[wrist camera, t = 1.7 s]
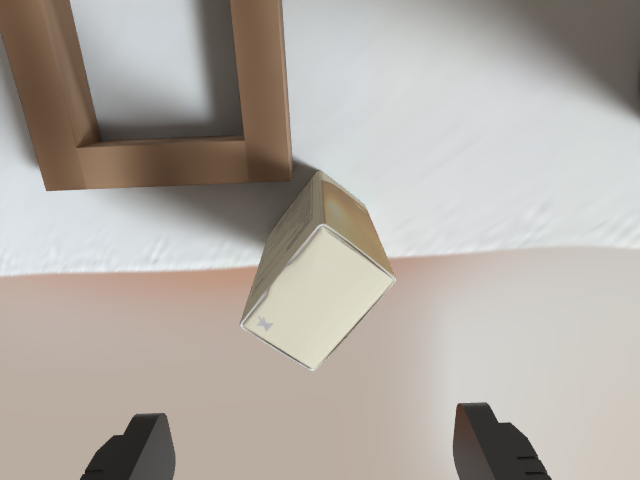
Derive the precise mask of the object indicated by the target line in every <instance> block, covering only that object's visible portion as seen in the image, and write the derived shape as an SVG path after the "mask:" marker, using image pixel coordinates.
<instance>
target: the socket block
mask: <svg viewBox="0 0 640 480" xmlns="http://www.w3.org/2000/svg"><path fill="white" fill-rule="evenodd" d="M230 8H231V17H232V26H233V36H234V45H235V55H236V64H237V74H238V83H239V93H240V102H241V112H242V121H243V130H244V135H231V136H208V137H185V138H162V139H139V140H116V141H101V138H100V133H99V129H98V125H97V120H96V116H95V111H94V107H93V102H92V98H91V94H90V89H89V85H88V80H87V76H86V72H85V67H84V63H83V58H82V54H81V50H80V45H79V41H78V36H77V32H76V28H75V23H74V19H73V14H72V10H71V6H70V1H69V0H0V31H1V34H2V38H3V41H4V45H5V48H6V52H7V55H8V59H9V62H10V66H11V69H12V73H13V76H14V80H15V83H16V87H17V90H18V94H19V97H20V101H21V104H22V108H23V111H24V115H25V118H26V122H27V125H28V129H29V132H30V136H31V139H32V143H33V146H34V150H35V153H36V157H37V160H38V164H39V167H40V171H41V174H42V178H43V181H44V185H45V188H46V191H58V190H82V189H106V188H130V187H154V186H178V185H202V184H226V183H250V182H274V181H290V179H291V176H292V173H293V162H292V147H291V132H290V117H289V102H288V87H287V72H286V57H285V42H284V27H283V12H282V0H230Z"/></svg>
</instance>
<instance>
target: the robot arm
mask: <svg viewBox="0 0 640 480" xmlns="http://www.w3.org/2000/svg"><path fill="white" fill-rule="evenodd" d="M453 456H454V462H455V467H456V470H457V473H458V475H459V479H460V480H552V479H551V478H550V476H548V475H547V471H546V469H545V467H544V466H543V464H542V462H541V461H540V460H539V459H538V455H537V454H536V452H535V450H534V449H533V447H532V445H531V443H530V442H529V440H528V438H527V437H526V436H525V435H524V434H522V433H521V432H520V431H519V430H518V429H517V428H516V427H515V426H514V425H512V424H511V423H498V421H497V419H496V417H495V415H494V413H493V411H492V410H491V408H490V406H489V405H488V404H487V403H459V404H458V405H457V409H456V418H455V429H454V439H453ZM174 471H175V451H174V447H173V442H172V438H171V433H170V428H169V424H168V420H167V416H166V415H165V414H164V413H153V414H136V415H135V416H134V417H133V418H132V420H131V421H130V423H129V425H128V427H127V429H126V430H125V432H124V434H123V435H116V436H115V435H114V436H113V437H112V438H110V439H109V440H108V441H107V442H106V443H105V444H104V445H103V446H102V447H101V448H100V449H99V450H98V451H97V452H96V453H95V455H94V457H93V458H92V460H91V462H90V463H89V465H88V467H87V468H86V470H85V474H83V475H82V477H81V478H80V480H172V479H173V476H174Z"/></svg>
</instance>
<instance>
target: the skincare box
mask: <svg viewBox="0 0 640 480" xmlns="http://www.w3.org/2000/svg"><path fill="white" fill-rule="evenodd" d="M395 282H396V278H395V275H394V272H393V270H392V268H391V265H390V263H389V261H388V258H387V256H386V253H385V251H384V249H383V246H382V244H381V242H380V240H379V237H378V234H377V232H376V230H375V227H374V225H373V223H372V220H371V218H370V215H369V213H368V211H367V208H366V206H365V205H364V204H363V203H362V202H360V201H359V200H358V199H357V198H356V197H354V196H353V195H352V194H351V193H349V192H348V191H347V190H346V189H344V188H343V187H342V186H341V185H339V184H338V183H337V182H335V181H334V180H333V179H331V178H330V177H329V176H328V175H326V174H325V173H323V172H322V171H317V172H316V173H315V175H314V176H313V177H312V178H311V179H310V181H309V182H308V183H307V184H306V186H305V187H304V188H303V189H302V191H301V192H300V193H299V194H298V196H297V197H296V198H295V200H294V201H293V202H292V204H291V205H290V206H289V208H288V209H287V210H286V212H285V213H284V214H283V216H282V217H281V219H280V220H279V221H278V223H277V224H276V226H275V227H274V228H273V230H272V231H271V233H270V234H269V236H268V239H267V242H266V245H265V248H264V251H263V254H262V257H261V260H260V263H259V266H258V270H257V273H256V276H255V279H254V282H253V285H252V288H251V291H250V294H249V297H248V300H247V303H246V306H245V309H244V312H243V315H242V319H241V322H240V327H241V328H243V329H244V330H246V331H247V332H249V333H251V334H252V335H254V336H255V337H257V338H258V339H260V340H262V341H263V342H264V343H266V344H268V345H269V346H271V347H273V348H274V349H276V350H277V351H279V352H280V353H282V354H283V355H285V356H287V357H288V358H290V359H291V360H293V361H295V362H297V363H298V364H301V365H302V366H304V367H306V368H307V369H309V370H311V371H315V370H316V369H317V368H318V367H319V366H320V365H321V364H323V363H324V362H325V360H326V359H328V357H330V356H331V355H332V353H333V352H334V351H335V350H336V349H337V348H338V347H339V346H340V345H341V344H342V343H343V342H344V341H345V340H346V338H347V337H348V336H349V335H350V334H351V333H352V332H353V331H354V329H355V328H356V327H357V326H358V325H359V324H360V323H361V322H362V320H363V319H364V318H365V317H366V316H367V315H368V313H369V312H370V311H371V310H372V309H373V308H374V307H375V306H376V304H377V303H378V302H379V301H380V299H381V298H382V297H383V296H384V295H385V294H386V292H387V291H388V290H389V289H390V288H391V286H392V285H393V284H394V283H395Z"/></svg>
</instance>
